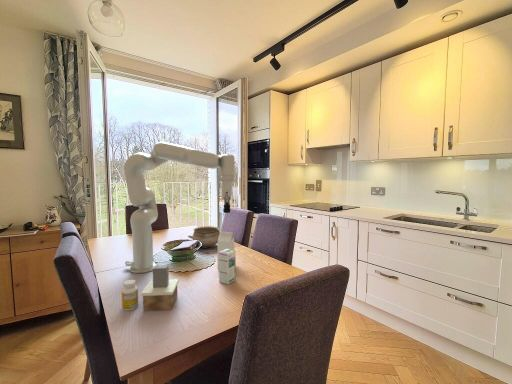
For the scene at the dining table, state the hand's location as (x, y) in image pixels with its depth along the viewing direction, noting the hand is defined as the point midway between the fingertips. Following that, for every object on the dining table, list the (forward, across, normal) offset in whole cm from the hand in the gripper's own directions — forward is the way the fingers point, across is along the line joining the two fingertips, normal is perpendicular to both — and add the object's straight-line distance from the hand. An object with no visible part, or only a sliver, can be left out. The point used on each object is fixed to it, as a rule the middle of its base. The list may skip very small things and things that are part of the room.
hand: (227, 211), depth 129 cm
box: (+31, +34, -25) cm, 52 cm away
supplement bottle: (+31, +35, -36) cm, 59 cm away
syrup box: (+31, +16, 0) cm, 35 cm away
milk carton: (+31, -2, 0) cm, 31 cm away
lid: (+25, +34, -25) cm, 49 cm away
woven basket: (+31, -39, -14) cm, 52 cm away
